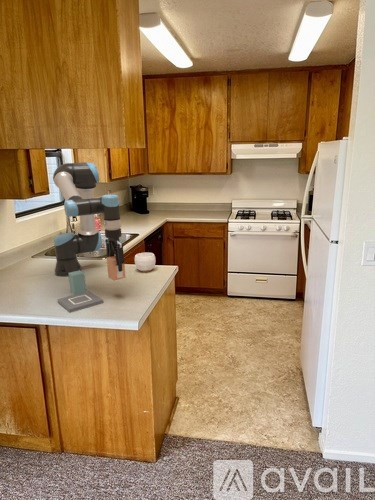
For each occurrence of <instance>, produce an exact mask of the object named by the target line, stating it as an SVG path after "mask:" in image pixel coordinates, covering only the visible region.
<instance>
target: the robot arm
mask: <svg viewBox="0 0 375 500" xmlns="http://www.w3.org/2000/svg"><path fill="white" fill-rule="evenodd" d="M52 181H53V183H54V185H55V187H56V188H58V189H59V191H60V193H61V195H62V196H63V199H64V203H63V206H64V208H63V209H64V214H65V215H66V217H73V218H74V217H79V226H80V228H79V229H78V230H77V234H75V233H74V232H72V231H71V232H65V233H61V234H58V235H56V236H55V237H54V239H53V245H54V249H55V250H54V251H55V258H56V260H55V261H56V263H55V268H54V275H56V276H58V277H69V274H68V273H70V272H75V271H79V270H80V271H82V266H81V264H80V262H79V260H78V256H77V255H78V254H85V253H94V252H98V251H99V250H100V249H101V247H102V234H101V233H100V231H99V229H97V228H96V217H95V215H101V214H102V215H103V225H104V236H105V238H106V239H105V245H106V246H105V247H106V248H105V249H106V258H107V257H112V256H115V257H116V262H117V264H116V270H117V278H121V277H123V270H122V264H125V255H124V253H125V252H124V243H123V242H120V238H121V237H122V235H123V234H122V222H121V221H122V220H121V211H120V208H121V207H120V200H119V199H120V198H119V195H117V194H104V195H102V196H100V197H99V196H98V197H95V196H94V194H95V193H94V190H95V189H96V188H97V184H100V173H99V171H98V167H97V166H96V164H95V163H94V162H87V161H86V162H72V163H71V162H67V163H63V164H61V165H59V166H58V167H57V168H55V170H54V172H53V176H52Z"/></svg>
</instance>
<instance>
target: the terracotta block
mask: <svg viewBox="0 0 375 500" xmlns="http://www.w3.org/2000/svg"><path fill="white" fill-rule="evenodd" d="M106 263H107V265H106V266H107V274H108V276H107V277H108V279H110V280H112V281H118V280H122V279H126V268H125V267H126V266H125V263H124V264H122V270H123V277H121V278H117V270H116V264H117V262H116V257H115V256H112V257H107V256H106Z"/></svg>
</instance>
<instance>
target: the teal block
mask: <svg viewBox="0 0 375 500" xmlns="http://www.w3.org/2000/svg"><path fill="white" fill-rule="evenodd" d="M68 274H69V276H68V279H69V280H68V281H69V282H68V283H69V288H70V292H71V293H72V294H73V295H75V294H79V293H83V292H87V285H86V275H85V272H83V271H82V270H81V271H80V270H79V271H75V272H70V273H68Z"/></svg>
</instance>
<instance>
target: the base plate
mask: <svg viewBox="0 0 375 500" xmlns="http://www.w3.org/2000/svg"><path fill="white" fill-rule="evenodd" d="M56 300H57V303H58V304H59V305H61V307H63V308H64V309H65V310H66V311H67V312H69V313H74V312H77V311H79V310H83V309H86V308H87V309H88V308H90V307H93V306H97V305H101V304H104V299H102V298H101V297H100V296H99V295H96V294H95V293H94V292H92V291H90V290H88V291H87V290H86V292H83V293H79V294H72V295H68V296H64V297H61V298H57V299H56Z"/></svg>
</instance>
